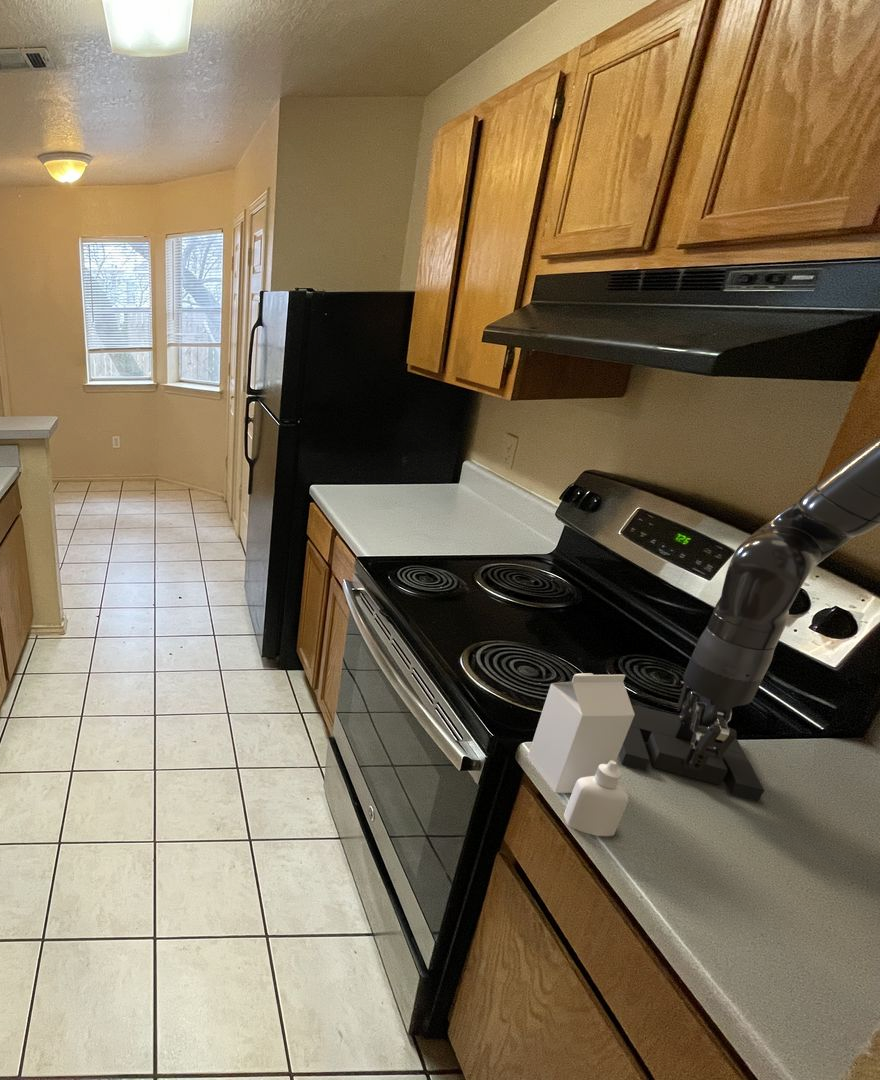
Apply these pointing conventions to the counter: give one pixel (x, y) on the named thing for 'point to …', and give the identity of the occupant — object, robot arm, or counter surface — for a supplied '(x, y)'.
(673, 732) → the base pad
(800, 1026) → the counter surface
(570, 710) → the milk carton
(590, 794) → the eye dropper bottle
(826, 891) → the counter surface
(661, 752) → the small pad
